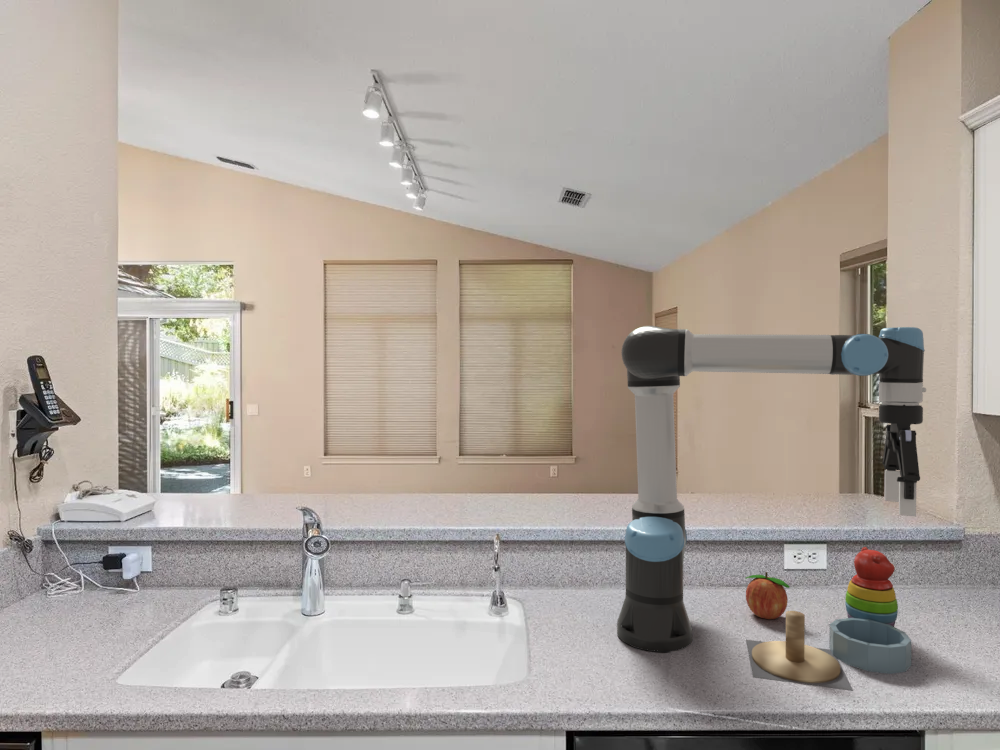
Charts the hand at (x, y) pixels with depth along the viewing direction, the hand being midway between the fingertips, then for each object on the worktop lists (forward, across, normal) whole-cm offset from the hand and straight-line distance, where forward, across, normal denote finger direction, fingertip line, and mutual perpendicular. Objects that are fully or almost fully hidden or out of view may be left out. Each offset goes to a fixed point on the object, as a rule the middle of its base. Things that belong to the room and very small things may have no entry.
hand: (899, 508), depth 127 cm
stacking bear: (+27, +1, +4) cm, 28 cm away
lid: (+27, -19, +20) cm, 39 cm away
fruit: (+27, +4, +25) cm, 37 cm away
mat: (+27, -19, +20) cm, 39 cm away
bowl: (+27, -11, +7) cm, 30 cm away
